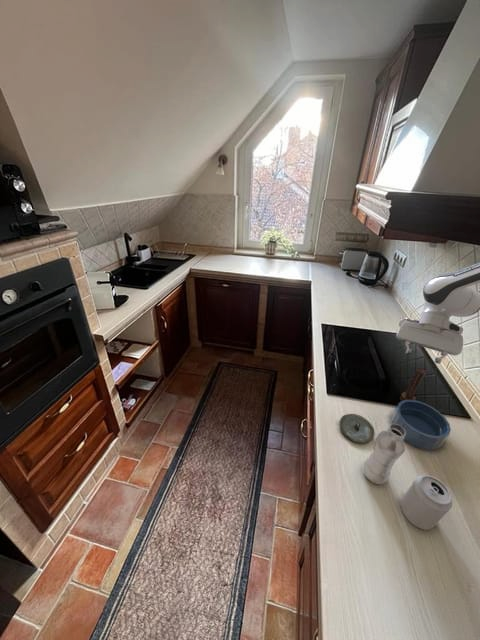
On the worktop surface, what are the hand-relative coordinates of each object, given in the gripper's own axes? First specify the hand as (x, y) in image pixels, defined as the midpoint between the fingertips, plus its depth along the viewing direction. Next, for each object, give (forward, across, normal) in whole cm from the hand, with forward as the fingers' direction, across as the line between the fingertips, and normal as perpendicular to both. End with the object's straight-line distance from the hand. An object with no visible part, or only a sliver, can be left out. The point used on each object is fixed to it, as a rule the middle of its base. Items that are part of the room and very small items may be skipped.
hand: (422, 358), depth 94 cm
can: (+46, +4, -24) cm, 51 cm away
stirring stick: (+17, 0, +5) cm, 17 cm away
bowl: (+26, +3, -4) cm, 26 cm away
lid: (+34, -14, -12) cm, 38 cm away
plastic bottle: (+42, -7, -21) cm, 48 cm away
